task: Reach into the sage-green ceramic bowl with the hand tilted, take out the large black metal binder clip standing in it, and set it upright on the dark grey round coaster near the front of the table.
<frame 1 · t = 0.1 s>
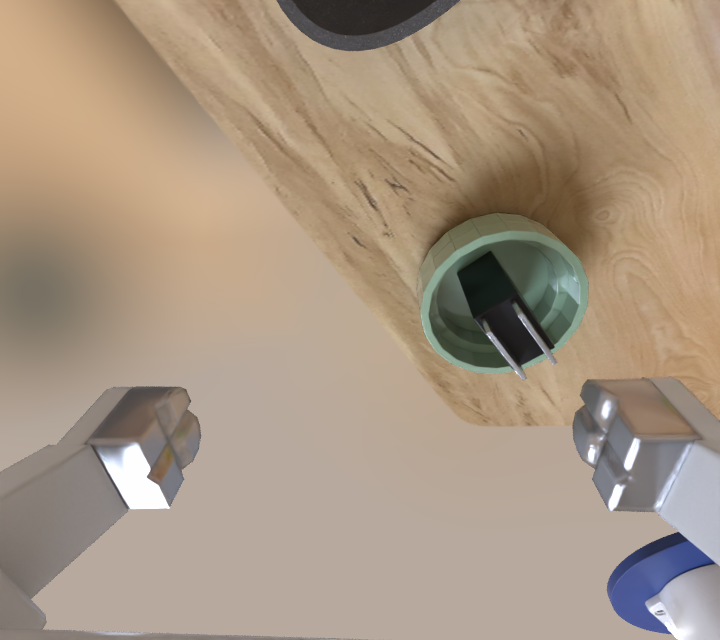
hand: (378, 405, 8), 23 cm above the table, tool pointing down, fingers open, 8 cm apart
clip: (490, 285, 31), point 1 cm above the table, touching green bowl
green bowl: (488, 281, 32), on the table
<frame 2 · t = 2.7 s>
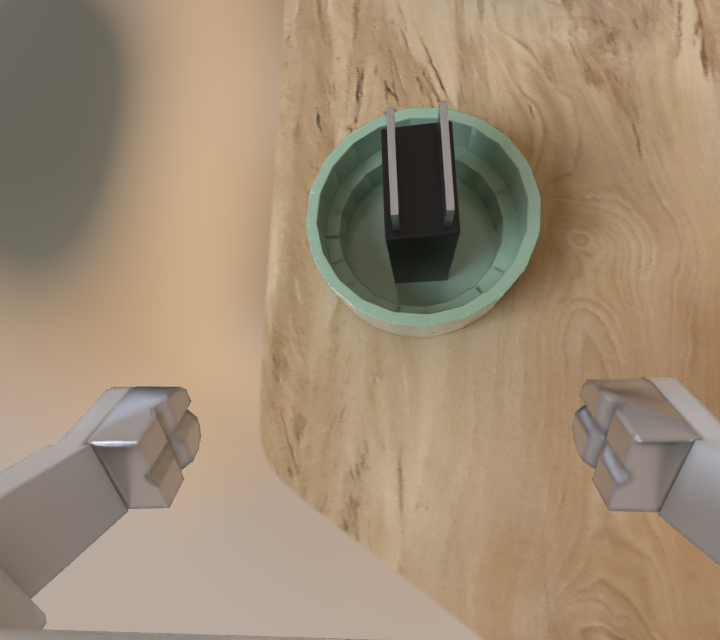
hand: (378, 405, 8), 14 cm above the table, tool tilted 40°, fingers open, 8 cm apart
clip: (418, 240, 23), point 1 cm above the table, touching green bowl
green bowl: (418, 244, 24), on the table
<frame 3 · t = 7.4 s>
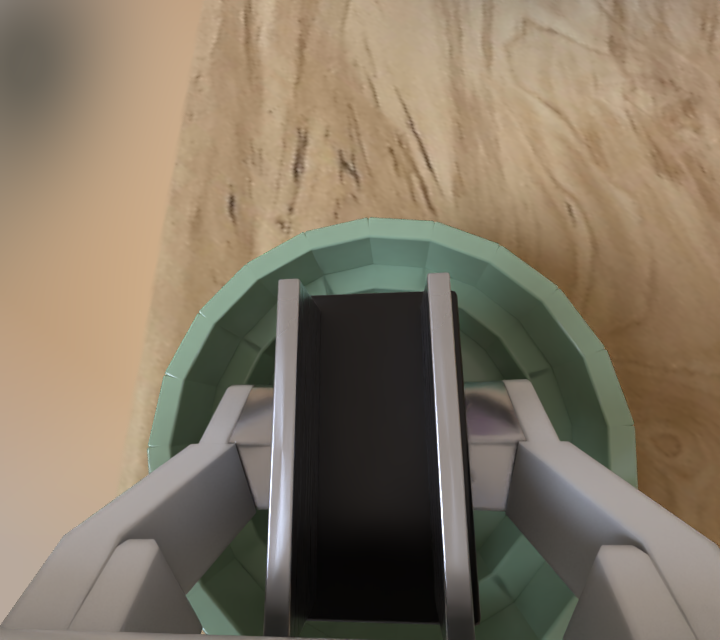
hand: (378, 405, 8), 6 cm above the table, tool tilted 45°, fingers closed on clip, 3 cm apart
clip: (384, 433, 13), point 1 cm above the table, touching green bowl, gripper
green bowl: (385, 432, 14), on the table
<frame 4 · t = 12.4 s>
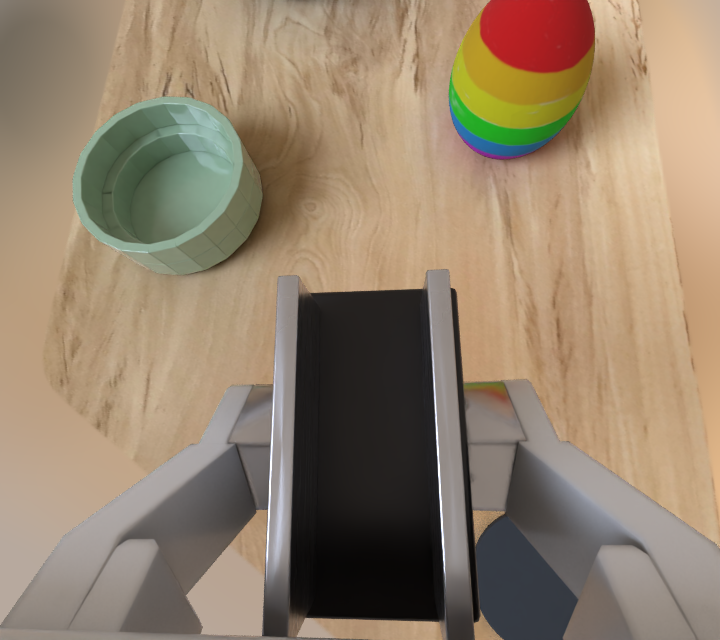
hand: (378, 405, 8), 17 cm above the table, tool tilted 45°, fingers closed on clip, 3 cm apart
coaster: (535, 577, 22), on the table
decorative egg: (499, 128, 30), on the table
clip: (384, 431, 13), point 12 cm above the table, touching gripper
green bowl: (191, 206, 30), on the table
when the fingers open (5 cm above the table, at t = 17.4 s): clip stays where it is, resting on coaster.
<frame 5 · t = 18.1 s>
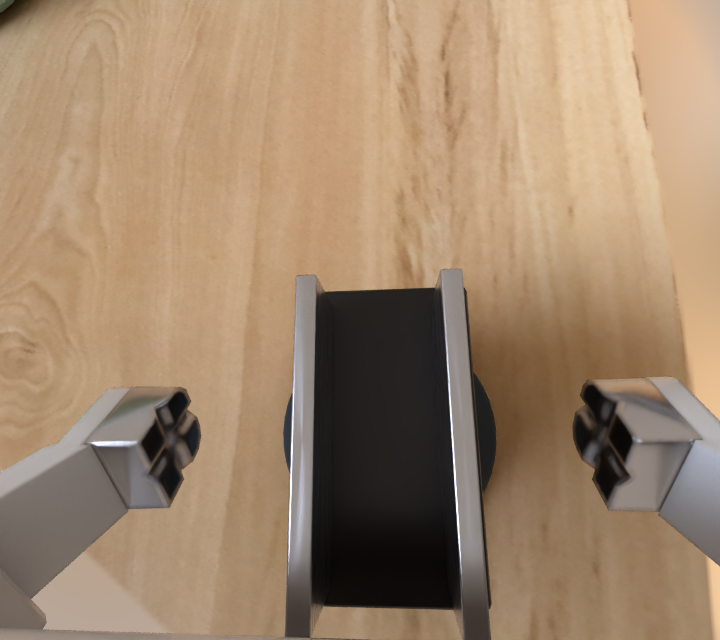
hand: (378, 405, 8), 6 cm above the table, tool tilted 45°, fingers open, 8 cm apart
coaster: (387, 430, 14), on the table
clip: (390, 428, 13), point 1 cm above the table, touching coaster
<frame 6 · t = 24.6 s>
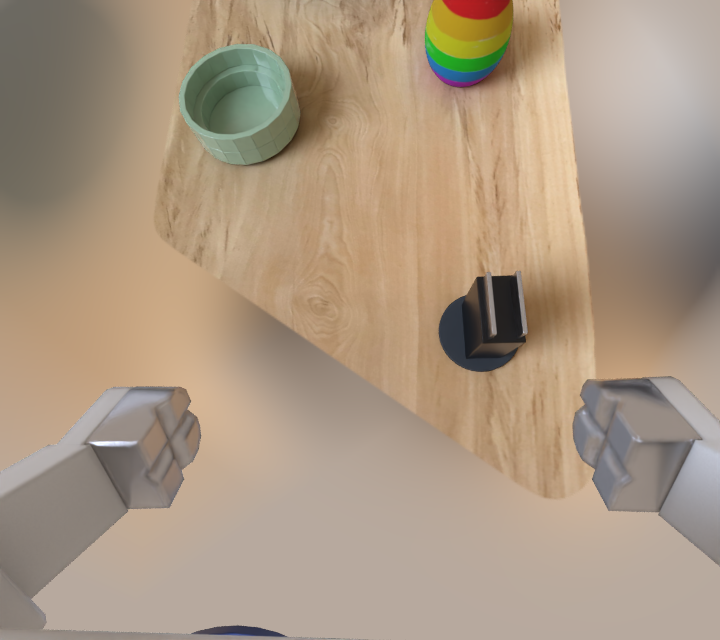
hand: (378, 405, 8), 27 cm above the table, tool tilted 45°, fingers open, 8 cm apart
coaster: (478, 332, 36), on the table
decorative egg: (460, 68, 44), on the table
clip: (480, 330, 36), point 1 cm above the table, touching coaster
green bowl: (250, 122, 44), on the table
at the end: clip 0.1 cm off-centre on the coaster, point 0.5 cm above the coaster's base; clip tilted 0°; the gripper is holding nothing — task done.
